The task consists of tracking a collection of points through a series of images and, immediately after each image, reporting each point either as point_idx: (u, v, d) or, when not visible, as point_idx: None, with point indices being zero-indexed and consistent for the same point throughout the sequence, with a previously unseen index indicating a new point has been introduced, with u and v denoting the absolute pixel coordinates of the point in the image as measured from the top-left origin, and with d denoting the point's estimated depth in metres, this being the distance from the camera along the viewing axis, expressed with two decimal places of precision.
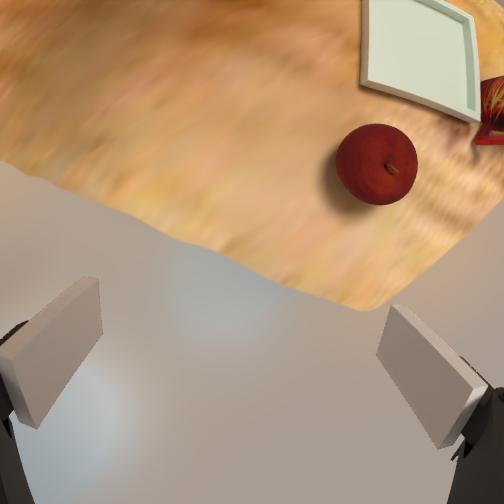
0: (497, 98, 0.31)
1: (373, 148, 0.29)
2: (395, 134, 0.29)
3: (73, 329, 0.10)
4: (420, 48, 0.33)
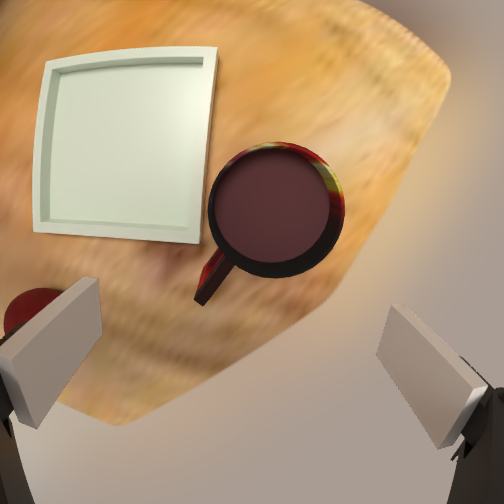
0: None
1: (9, 330, 0.26)
2: (20, 316, 0.26)
3: (73, 329, 0.10)
4: (112, 148, 0.30)
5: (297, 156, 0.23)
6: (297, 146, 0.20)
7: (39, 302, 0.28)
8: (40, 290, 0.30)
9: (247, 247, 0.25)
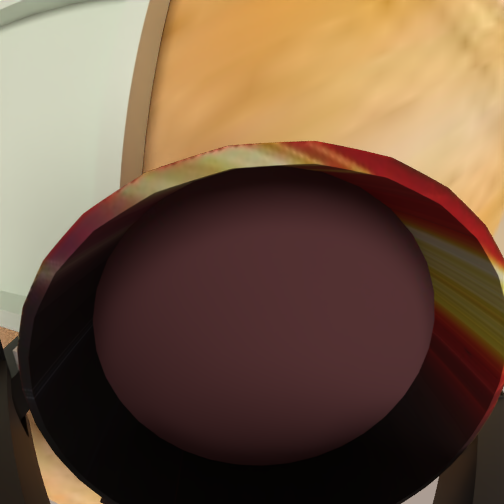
0: None
1: None
2: None
3: None
4: None
5: (363, 199, 0.06)
6: (412, 176, 0.03)
7: None
8: None
9: (199, 442, 0.08)
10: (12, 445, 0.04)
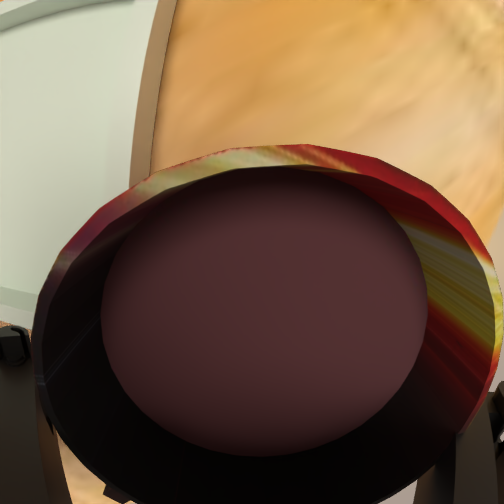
0: None
1: None
2: None
3: None
4: None
5: (356, 198, 0.07)
6: (396, 174, 0.04)
7: None
8: None
9: (201, 432, 0.09)
10: (38, 444, 0.04)
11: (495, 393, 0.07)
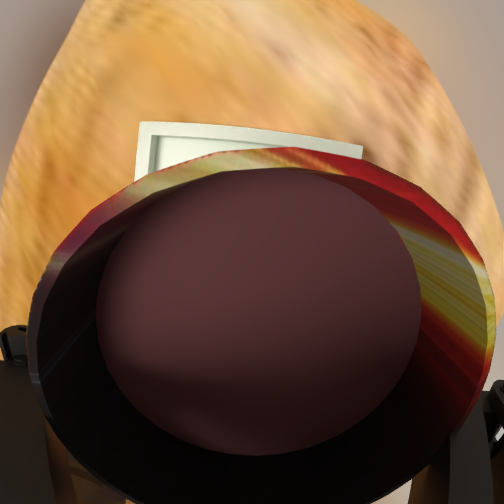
0: None
1: None
2: None
3: None
4: None
5: (349, 198, 0.07)
6: (383, 176, 0.04)
7: None
8: None
9: (195, 431, 0.09)
10: (45, 444, 0.04)
11: (490, 392, 0.07)
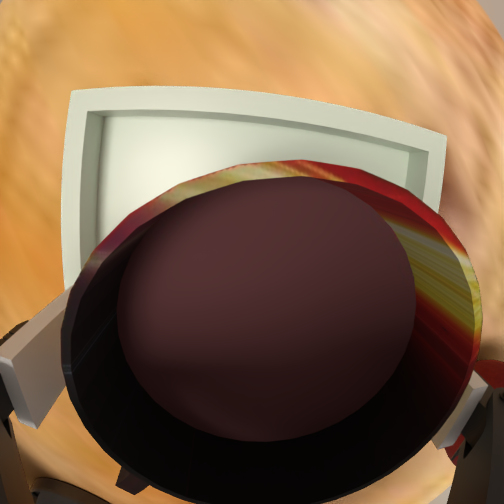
0: None
1: None
2: None
3: None
4: None
5: (347, 199, 0.08)
6: (377, 182, 0.05)
7: None
8: None
9: (210, 419, 0.09)
10: None
11: None
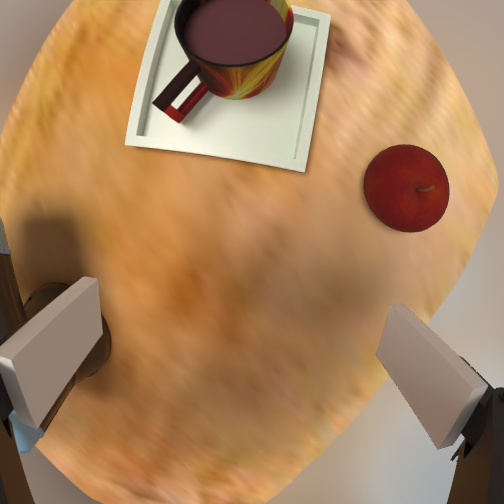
0: None
1: (409, 210, 0.28)
2: (395, 178, 0.27)
3: (73, 329, 0.10)
4: None
5: None
6: None
7: (380, 160, 0.28)
8: (367, 173, 0.31)
9: None
10: None
11: None
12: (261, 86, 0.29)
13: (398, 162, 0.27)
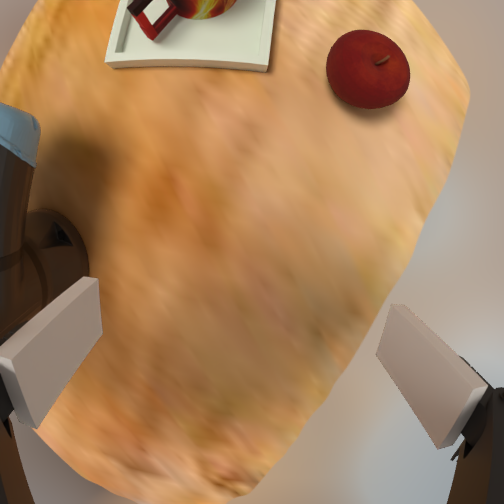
0: None
1: (369, 76, 0.26)
2: (350, 50, 0.25)
3: (73, 329, 0.10)
4: None
5: None
6: None
7: (335, 42, 0.27)
8: (327, 59, 0.30)
9: None
10: None
11: None
12: (222, 1, 0.28)
13: (350, 38, 0.25)
